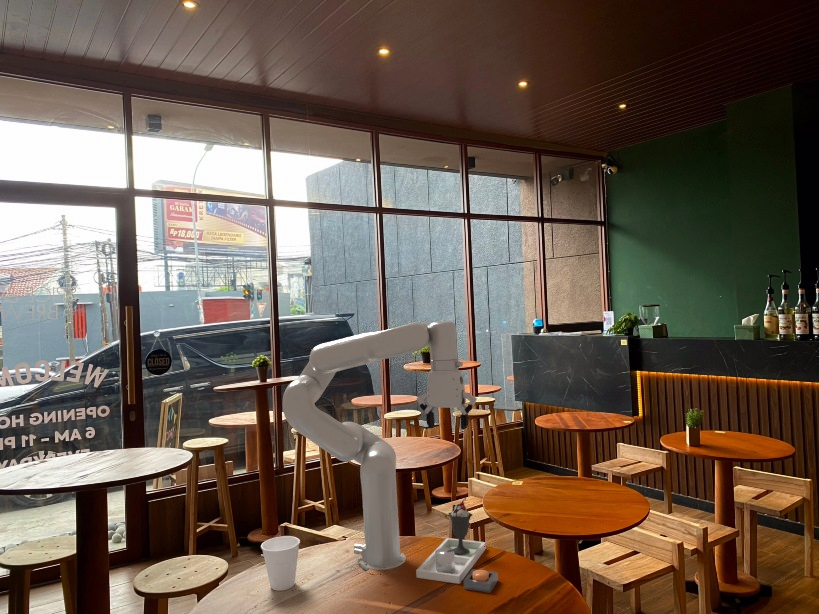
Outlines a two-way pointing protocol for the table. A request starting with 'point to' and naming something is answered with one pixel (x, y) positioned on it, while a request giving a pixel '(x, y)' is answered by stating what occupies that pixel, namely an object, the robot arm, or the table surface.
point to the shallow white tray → (461, 562)
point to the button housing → (480, 582)
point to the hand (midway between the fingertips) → (447, 428)
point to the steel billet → (445, 560)
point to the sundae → (460, 525)
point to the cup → (281, 561)
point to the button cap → (480, 575)
